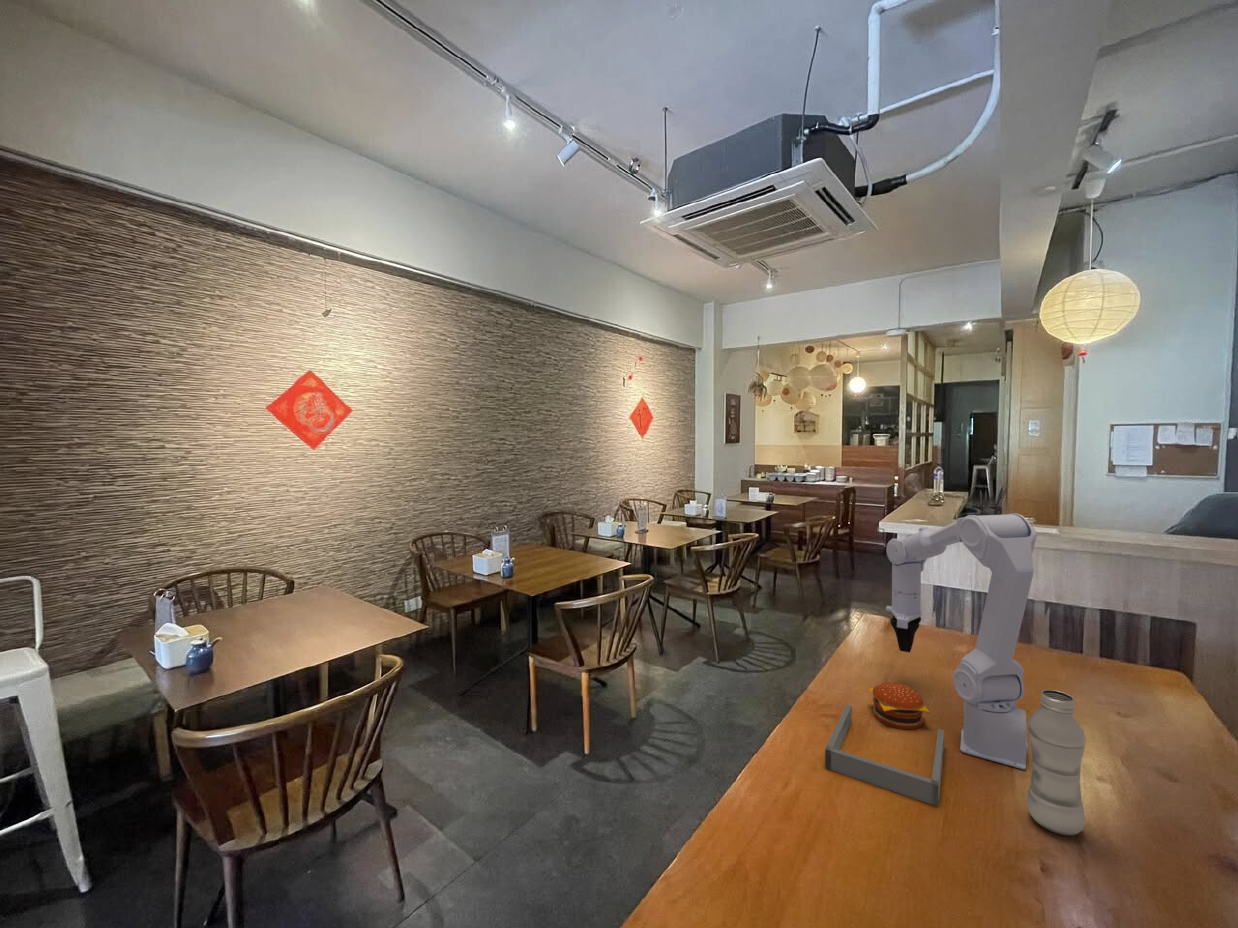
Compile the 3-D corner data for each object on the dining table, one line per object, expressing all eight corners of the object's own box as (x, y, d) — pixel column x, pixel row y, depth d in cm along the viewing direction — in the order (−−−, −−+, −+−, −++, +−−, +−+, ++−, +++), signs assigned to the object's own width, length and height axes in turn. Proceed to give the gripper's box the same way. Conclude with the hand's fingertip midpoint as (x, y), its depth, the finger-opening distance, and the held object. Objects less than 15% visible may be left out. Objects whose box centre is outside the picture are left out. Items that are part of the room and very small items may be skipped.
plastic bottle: (1096, 845, 72) (1100, 708, 71) (1041, 839, 73) (1045, 704, 72) (1066, 812, 78) (1069, 686, 77) (1016, 807, 80) (1019, 683, 79)
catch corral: (944, 748, 95) (944, 730, 95) (938, 806, 80) (938, 785, 80) (846, 720, 105) (846, 703, 104) (825, 767, 90) (825, 748, 90)
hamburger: (864, 705, 110) (864, 675, 110) (910, 707, 110) (911, 677, 109) (883, 730, 101) (883, 697, 101) (933, 732, 100) (934, 699, 100)
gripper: (890, 580, 124) (890, 634, 125) (881, 596, 112) (881, 656, 113) (924, 584, 120) (923, 641, 121) (918, 601, 108) (918, 664, 109)
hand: (905, 649), depth 116 cm, fingers closed
